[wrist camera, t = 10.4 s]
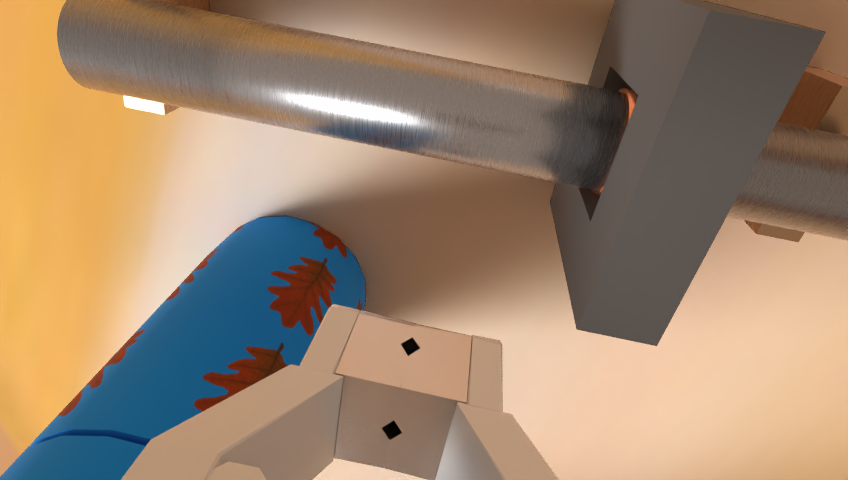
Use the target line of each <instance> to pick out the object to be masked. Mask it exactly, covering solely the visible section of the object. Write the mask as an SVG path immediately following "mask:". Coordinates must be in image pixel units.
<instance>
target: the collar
mask: <svg viewBox="0 0 848 480" xmlns="http://www.w3.org/2000/svg"><path fill="white" fill-rule="evenodd" d="M824 34H825V32H824V31H820V30H816V29H812V28H808V27H805V26H801V25H797V24H793V23H789V22H785V21H781V20H777V19H773V18H770V17H766V16H762V15H758V14H754V13H750V12H746V11H742V10H739V9H735V8H731V7H727V6H723V5H719V4H715V3H711V2H707V1H704V0H615V3H614V6H613V9H612V12H611V15H610V18H609V21H608V24H607V27H606V30H605V34H604V37H603V40H602V43H601V46H600V49H599V52H598V55H597V58H596V61H595V64H594V67H593V70H592V73H591V77H590V80H589V83H588V85H590V86H595V87H600V88H605V89H610V90H615V91H619V90H620V89H622V88H626V89H632V90H634V91H635V92H636V93H637V94H638V95H639V96H638V98H637V101H636V103H635V106H634V109H633V111H632V114H631V117H630V119H629V122H628V124H627V127H626V130H625V132H624V135H623V138H622V140H621V143H620V145H619V148H618V151H617V153H616V156H615V159H614V161H613V164H612V166H611V169H610V172H609V174H608V177H607V180H606V182H605V185H604V187H603V190H602V193H601V195H599V194H595V193H593V192H592V190H591V189H588V188H583V187H578V186H573V185H568V184H563V183H558V182H556V184H555V187H554V190H553V193H552V196H551V199H550V204H551V209H552V214H553V218H554V223H555V228H556V233H557V238H558V242H559V247H560V252H561V257H562V262H563V266H564V271H565V276H566V281H567V285H568V290H569V295H570V300H571V305H572V309H573V314H574V319H575V324H576V328H577V330H582V331H587V332H592V333H597V334H602V335H606V336H611V337H616V338H621V339H626V340H630V341H635V342H640V343H645V344H650V345H655V346H657V345H658V343H659V341H660V339H661V337H662V335H663V334H664V332H665V330H666V328H667V326H668V324H669V322H670V321H671V319H672V317H673V315H674V313H675V311H676V309H677V307H678V306H679V304H680V302H681V300H682V298H683V296H684V294H685V293H686V291H687V289H688V287H689V285H690V283H691V281H692V280H693V278H694V276H695V274H696V272H697V270H698V268H699V267H700V265H701V263H702V261H703V259H704V257H705V255H706V254H707V252H708V250H709V248H710V246H711V244H712V242H713V241H714V239H715V237H716V235H717V233H718V231H719V229H720V228H721V226H722V224H723V222H724V220H725V218H726V216H727V214H728V213H729V211H730V209H731V207H732V205H733V203H734V201H735V200H736V198H737V196H738V194H739V192H740V190H741V188H742V187H743V185H744V183H745V181H746V179H747V177H748V175H749V174H750V172H751V170H752V168H753V166H754V164H755V162H756V161H757V159H758V157H759V155H760V153H761V151H762V149H763V148H764V146H765V144H766V142H767V140H768V138H769V136H770V135H771V133H772V131H773V129H774V127H775V125H776V123H777V121H778V120H779V118H780V116H781V114H782V112H783V110H784V108H785V107H786V105H787V103H788V101H789V99H790V97H791V95H792V94H793V92H794V90H795V88H796V86H797V84H798V82H799V81H800V79H801V77H802V75H803V73H804V71H805V69H806V68H807V66H808V64H809V62H810V60H811V58H812V56H813V55H814V53H815V51H816V49H817V47H818V45H819V43H820V42H821V40H822V38H823V36H824Z"/></svg>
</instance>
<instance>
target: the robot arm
mask: <svg viewBox="0 0 848 480" xmlns="http://www.w3.org/2000/svg"><path fill="white" fill-rule="evenodd" d="M333 458H337V459H342V460H347V461H352V462H357V463H362V464H367V465H372V466H377V467H382V468H384V467H385V468H386V469H390V470H394V471H397V472H401V473H405V474H409V475H413V476H416V477H420V478H424V479H428V480H559V479H558V478H557V476H556V475H555V474H554V472H553V471H552V470H551V468H550V467H549V465H548V464H547V463H546V461H545V460H544V458H543V457H542V456H541V454H540V453H539V452H538V450H537V449H536V447H535V446H534V445H533V443H532V442H531V440H530V439H529V438H528V436H527V435H526V434H525V432H524V431H523V429H522V428H521V427H520V425H519V424H518V422H517V421H516V420H515V418H514V417H513V416H512V414H508V413H504V412H503V391H502V344H501V342H500V340H495V339H490V338H485V337H480V336H475V335H472V336H470V335H466V334H461V333H456V332H452V331H447V330H442V329H438V328H433V327H429V326H424V325H419V324H416V323H412V322H408V321H404V320H400V319H396V318H392V317H388V316H383V315H379V314H375V313H371V312H367V311H363V310H362V311H360V310H358V309H353V308H349V307H345V306H341V305H336V304H333V305H332V306H331V307H330V308H329V309H328V311H327V313H326V315H325V316H324V318H323V320H322V322H321V324H320V326H319V328H318V330H317V332H316V334H315V336H314V338H313V340H312V342H311V344H310V346H309V348H308V350H307V352H306V354H305V356H304V358H303V360H302V362H301V364H300V366H296V365H292V364H290V365H288V366H287V367H285V368H283V369H281V370H279V371H277V372H275V373H274V374H272V375H270V376H268V377H266V378H264V379H262V380H261V381H259V382H257V383H255V384H253V385H251V386H249V387H248V388H246V389H244V390H242V391H240V392H238V393H236V394H235V395H233V396H231V397H229V398H227V399H225V400H223V401H222V402H220V403H218V404H216V405H214V406H212V407H210V408H209V409H207V410H205V411H203V412H201V413H199V414H197V415H196V416H194V417H192V418H190V419H188V420H186V421H184V422H183V423H181V424H179V425H177V426H175V427H173V428H171V429H170V430H168V431H166V432H164V433H162V434H160V435H158V436H157V437H155V438H153V439H151V440H150V441H149V443H148V444H147V445H146V447H145V448H144V449H143V451H142V452H141V453H140V455H139V456H138V457H137V459H136V460H135V461H134V463H133V464H132V465H131V467H130V468H129V469H128V471H127V472H126V473H125V475H124V476H123V477H122V479H121V480H312V479H314V478H315V477H316V476H317V475H318V474H319V473H320V472H321V471H322V470H323V469H325V468H326V467H327V466H328V465H329V464H330V463H331V462H332V461H333Z"/></svg>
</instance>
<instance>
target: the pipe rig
mask: <svg viewBox="0 0 848 480" xmlns="http://www.w3.org/2000/svg"><path fill="white" fill-rule="evenodd" d="M57 37H58V46H59V51H60V55H61V58H62V61H63V63H64V65H65V67H66V69H67V71H68V72H69V74H70V75H71V76H72V78H73V79H74V80H75V81H76V82H77V83H79V84H80V85H82V86H84V87H86V88H89V89H93V90H98V91H103V92H108V93H113V94H118V95H123V96H124V103H125V107H128V108H133V109H138V110H143V111H148V112H153V113H158V114H163V115H165V114H167V113H169V112H171V111H173V110H175V109H177V108H179V107H183V108H188V109H193V110H198V111H203V112H208V113H213V114H218V115H223V116H228V117H233V118H238V119H243V120H248V121H253V122H258V123H263V124H268V125H273V126H278V127H283V128H288V129H293V130H298V131H303V132H308V133H313V134H318V135H323V136H328V137H333V138H338V139H343V140H348V141H353V142H358V143H363V144H368V145H373V146H378V147H383V148H388V149H393V150H398V151H403V152H408V153H413V154H418V155H423V156H428V157H433V158H438V159H443V160H448V161H453V162H458V163H463V164H468V165H473V166H478V167H483V168H488V169H493V170H498V171H503V172H508V173H513V174H518V175H523V176H528V177H533V178H538V179H543V180H548V181H553V182H558V183H563V184H568V185H573V186H578V187H583V188H588V189H591V190H592V192H593V193H595V194H599V195H601V193H602V190H603V187H604V185H605V182H606V180H607V177H608V174H609V172H610V169H611V166H612V164H613V161H614V159H615V156H616V153H617V151H618V148H619V145H620V143H621V140H622V138H623V135H624V132H625V130H626V127H627V124H628V122H629V119H630V117H631V114H632V111H633V109H634V106H635V103H636V101H637V98H638V96H639V95H638V94H637V93H636V92H635V91H634V90H632V89H626V88H622V89H620V90H619V91H615V90H610V89H605V88H600V87H595V86H590V85H585V84H580V83H574V82H569V81H564V80H559V79H554V78H549V77H544V76H539V75H533V74H528V73H523V72H518V71H513V70H508V69H503V68H498V67H492V66H487V65H482V64H477V63H472V62H467V61H462V60H457V59H451V58H446V57H441V56H436V55H431V54H426V53H421V52H416V51H410V50H405V49H400V48H395V47H390V46H385V45H380V44H375V43H369V42H364V41H359V40H354V39H349V38H344V37H339V36H334V35H328V34H323V33H318V32H313V31H308V30H303V29H298V28H293V27H288V26H282V25H277V24H272V23H267V22H262V21H257V20H252V19H247V18H241V17H236V16H231V15H226V14H221V13H216V12H211V11H210V9H209V0H67V1H66V2H65V4H64V6H63V7H62V10H61V13H60V16H59V21H58V30H57ZM727 217H732V218H737V219H742V220H744V221H745V222H746V223H747V224H748V225H749V226H750V227H751V229H752V230H753V231H754V232H755V233H756V234H760V235H765V236H770V237H775V238H780V239H785V240H790V241H795V242H799V240H800V239H801V237H802V236H803V234H804V232H807V233H812V234H817V235H822V236H827V237H832V238H837V239H842V240H848V79H847V78H844V77H842V76H839V75H836V74H834V73H831V72H828V71H826V70H823V69H818V68H812V67H807V68H806V69H805V71H804V73H803V75H802V77H801V79H800V81H799V82H798V84H797V86H796V88H795V90H794V92H793V94H792V95H791V97H790V99H789V101H788V103H787V105H786V107H785V108H784V110H783V112H782V114H781V116H780V118H779V120H778V121H777V123H776V125H775V127H774V129H773V131H772V133H771V135H770V136H769V138H768V140H767V142H766V144H765V146H764V148H763V149H762V151H761V153H760V155H759V157H758V159H757V161H756V162H755V164H754V166H753V168H752V170H751V172H750V174H749V175H748V177H747V179H746V181H745V183H744V185H743V187H742V188H741V190H740V192H739V194H738V196H737V198H736V200H735V201H734V203H733V205H732V207H731V209H730V211H729V213H728V214H727Z"/></svg>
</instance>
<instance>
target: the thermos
mask: <svg viewBox="0 0 848 480" xmlns="http://www.w3.org/2000/svg"><path fill="white" fill-rule="evenodd" d="M365 301H366V298H365V278H364V275H363V273H362V271H361V269H360V266H359V264H358V262H357V259H356V257H355V256H354V255H353V254H352V253H351V252H350V251H349V249H348V248H347V247H346V246H345V245H344V244H343V243H342V242H341V241H340V240H339V238H338V237H336V236H334V235H333V234H331V233H329V232H328V231H326V230H324V229H323V228H321V227H319V226H318V225H316V224H314V223H312V222H308V221H304V220H300V219H296V218H292V217H288V216H276V217H260V218H258V219H256V220H253V221H251V222H249V223H247V224H245V225H243V226H240V227H238V228H237V229H236V230H235V231H234V232H233V233H232V234H231V235H230V236H229V237H227V238H226V239H225V240H224V241H223V242H222V243H221V244H220V245H219V246H218V247H216V248H215V249H214V250H213V251H212V252H211V253H210V254H209V255H208V256H207V257H206V258H205V259H204V260H203V261H202V262H201V263H200V264H199V265H198V266H197V267H196V269H195V270H194V271H193V272H192V273H191V274H190V275H189V276H188V277H187V278H186V279H185V280H184V281H183V282H182V283H181V285H180V286H179V287H178V288H177V289H176V290H175V291H174V292H173V293H172V294H171V295H170V296H169V297H168V298H167V299H166V301H165V302H164V303H163V304H162V305H161V306H160V307H159V308H158V309H157V310H156V311H155V312H154V313H153V314H152V315H151V317H150V318H149V319H148V320H147V321H146V322H145V323H144V324H143V325H142V326H141V327H140V328H139V329H138V330H137V332H136V333H135V334H134V335H133V336H132V337H131V338H130V339H129V340H128V341H127V342H126V343H125V344H124V345H123V346H122V348H121V349H120V350H119V351H118V352H117V353H116V354H115V355H114V356H113V357H112V358H111V359H110V360H109V361H108V362H107V364H106V365H105V366H104V367H103V368H102V369H101V370H100V371H99V372H98V373H97V374H96V375H95V376H94V377H93V378H92V380H91V381H90V382H89V383H88V384H87V385H86V386H85V387H84V388H83V389H82V390H81V391H80V392H79V393H78V395H77V396H76V397H75V398H74V399H73V400H72V401H71V402H70V403H69V404H68V405H67V406H66V407H65V408H64V409H63V411H62V412H61V413H60V414H59V415H58V416H57V417H56V418H55V419H54V420H53V421H52V422H51V423H50V424H49V425H48V427H47V428H46V429H45V430H44V431H43V432H42V433H41V434H40V435H39V436H38V437H37V438H36V439H35V440H34V442H33V443H32V444H31V446H29V447H28V448H27V449H26V450H25V451H24V452H23V453H22V454H21V455H20V456H19V457H18V459H17V460H16V461H15V462H14V463H13V464H12V465H11V466H10V467H9V468H8V469H7V470H6V471H5V472H4V474H3V475H2V476H1V477H0V480H121V479H122V477H123V476H124V475H125V473H126V472H127V471H128V469H129V468H130V467H131V465H132V464H133V463H134V461H135V460H136V459H137V457H138V456H139V455H140V453H141V452H142V451H143V449H144V448H145V447H146V445H147V444H148V443H149V441H150V440H151V439H153V438H155V437H157V436H158V435H160V434H162V433H164V432H166V431H168V430H170V429H171V428H173V427H175V426H177V425H179V424H181V423H183V422H184V421H186V420H188V419H190V418H192V417H194V416H196V415H197V414H199V413H201V412H203V411H205V410H207V409H209V408H210V407H212V406H214V405H216V404H218V403H220V402H222V401H223V400H225V399H227V398H229V397H231V396H233V395H235V394H236V393H238V392H240V391H242V390H244V389H246V388H248V387H249V386H251V385H253V384H255V383H257V382H259V381H261V380H262V379H264V378H266V377H268V376H270V375H272V374H274V373H275V372H277V371H279V370H281V369H283V368H285V367H287V366H288V365H290V364H292V365H296V366H300V364H301V362H302V360H303V358H304V356H305V354H306V352H307V350H308V348H309V346H310V344H311V342H312V340H313V338H314V336H315V334H316V332H317V330H318V328H319V326H320V324H321V322H322V320H323V318H324V316H325V315H326V313H327V311H328V309H329V308H330V307H331V306H332V305H333V304H336V305H341V306H345V307H349V308H353V309H358V310H360V311H362V310H363V308H364V305H365Z"/></svg>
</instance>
